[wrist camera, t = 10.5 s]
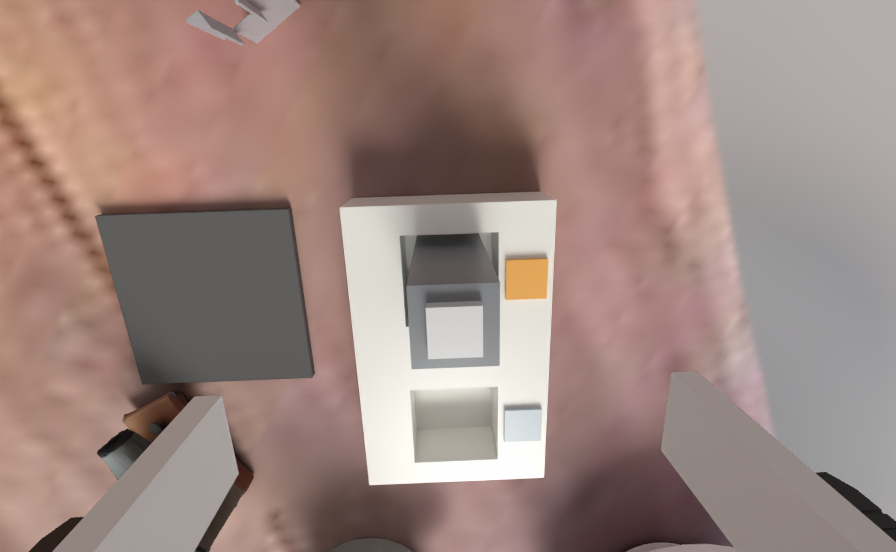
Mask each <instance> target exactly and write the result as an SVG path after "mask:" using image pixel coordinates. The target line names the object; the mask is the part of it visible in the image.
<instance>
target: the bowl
mask: <svg viewBox="0 0 896 552" xmlns="http://www.w3.org/2000/svg"><path fill="white" fill-rule="evenodd" d="M626 552H737V551H736V550H735V548H734V547H729V546H721V545H713V544H686V545H678V544H674V543H666V542H662V543H650V544H644V545H641V546H638V547H635V548H632V549H630V550H628V551H626Z"/></svg>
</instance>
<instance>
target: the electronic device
mask: <svg viewBox="0 0 896 552" xmlns="http://www.w3.org/2000/svg"><path fill="white" fill-rule="evenodd" d="M187 404H188V402H187V401H186V397H185V395H184V394H183V393H181V392H179V393H178V394H176V395H175V394H174V393H173V392H167V393H165V395H163V396H162V397H160V398H158V399H156V400H154V401H152V402H150V403H148V404H146V405H144V406H143V407H141V408H139V409H137V410H135V411H133V412H131V413H129V414H125V415H124V418H123V422H124V424H125V425H126V426H127V427H128V428H129V429H126V430H124V431H121V432H119V434H117V435H116V436H115V437H113V438H111V440H110V441H109V442H108V443H107V444H106V445H104V446H103V447H102V448H101V449H100V450H98V452H97V454H98V455H99V456H100V457H101V458H102V459H103V460H104V461H105V462H106V464H107V465H108V466H109V468H110V469H111V471H112V472H113V474H114V475H115V477H116V478H117V480H119V478H120V477H121V476H122V475H123V474H124V473H125V472H126V471H127V470H128V469H129V468H130V466H131V465H132V464H133V463H134V462H135V461H136V460H137V459H138V458H139V457H140V456H141V454H142V453H143V452H144V451H145V450H146V449H147V448H148V447H149V446H150V445H151V444H152V442H153V441H154V440H155V439H156V438H157V437H158V436H159V435H160V434H161V433H162V432H163V430H164V429H165V428H166V427H167V426H168V425H169V424H170V423H171V422H172V421H173V420H174V418H175V417H176V416H177V415H178V414H179V413H180V412H181V411H182V410H183V409H184V408H185V406H186V405H187ZM235 458H236V457H235ZM236 463H237V468H238V472H239V474H238V476H237V478H236V479H235V481H234V483H233V485H232V486H231V488H230V490H229V492H228V493H227V495H226V497H225V499H224V500H223V502H222V504H221V506H220V507H219V509H218V511H217V513H216V514H215V516H214V518H213V520H212V521H211V523H210V525H209V527H208V528H207V530H206V532H205V534H204V535H203V537H202V539H201V541H200V542H199V544H198V546H197V548H196V549H195V551H194V552H209V551H210V547H211V545H212V544H213V542H214V540H215V539H216V537H217V535H218V533H219V532H220V530H221V529H222V527H223V525H224V524H225V522H226V520H227V519H228V517H229V516H230V514H231V512H232V511H233V509H234V508H235V507H236V506H237V503H238V501H239V500H240V498H241V496H242V495H243V494H244V493H245V492H246V491H247V489H248V487H249V485H250V484H251V482H252V480H253V478H254V476H253V474H252V472H251V471H249V470H248V469H247V468H245V467H244V466H243V465H242V464H241V463H240V462H239V460H238V459H237V458H236Z"/></svg>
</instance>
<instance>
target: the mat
mask: <svg viewBox="0 0 896 552" xmlns="http://www.w3.org/2000/svg"><path fill="white" fill-rule="evenodd" d="M95 218H96V221H97V225H98V228H99V232H100V235H101V239H102V242H103V246H104V250H105V253H106V257H107V260H108V264H109V267H110V271H111V274H112V278H113V281H114V285H115V289H116V292H117V296H118V299H119V303H120V306H121V310H122V313H123V317H124V320H125V324H126V328H127V331H128V335H129V338H130V342H131V345H132V349H133V352H134V356H135V359H136V363H137V367H138V370H139V374H140V377H141V381H142V384H166V383H191V382H216V381H241V380H266V379H291V378H312V377H313V376H314V374H315V372H314V365H313V358H312V351H311V344H310V337H309V330H308V323H307V316H306V309H305V302H304V295H303V287H302V280H301V273H300V266H299V259H298V252H297V245H296V238H295V231H294V224H293V217H292V210H291V208H275V209H246V210H217V211H188V212H159V213H130V214H102V215H98V216H95Z"/></svg>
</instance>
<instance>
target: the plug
mask: <svg viewBox="0 0 896 552" xmlns="http://www.w3.org/2000/svg"><path fill="white" fill-rule="evenodd" d="M406 290H407V305H408V321H409V337H410V352H411V368H412V369H433V368H458V367H483V366H500V281H499V279H498V277H497V274H496V272H495V270H494V267H493V265H492V263H491V261H490V258H489V256H488V254H487V251H486V249H485V247H484V245H483V242H482V240H481V238H480V235H479V233H476V234H448V235H420V236H417V237H416V242H415V247H414V252H413V256H412V261H411V266H410V271H409V275H408V280H407V285H406Z"/></svg>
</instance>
